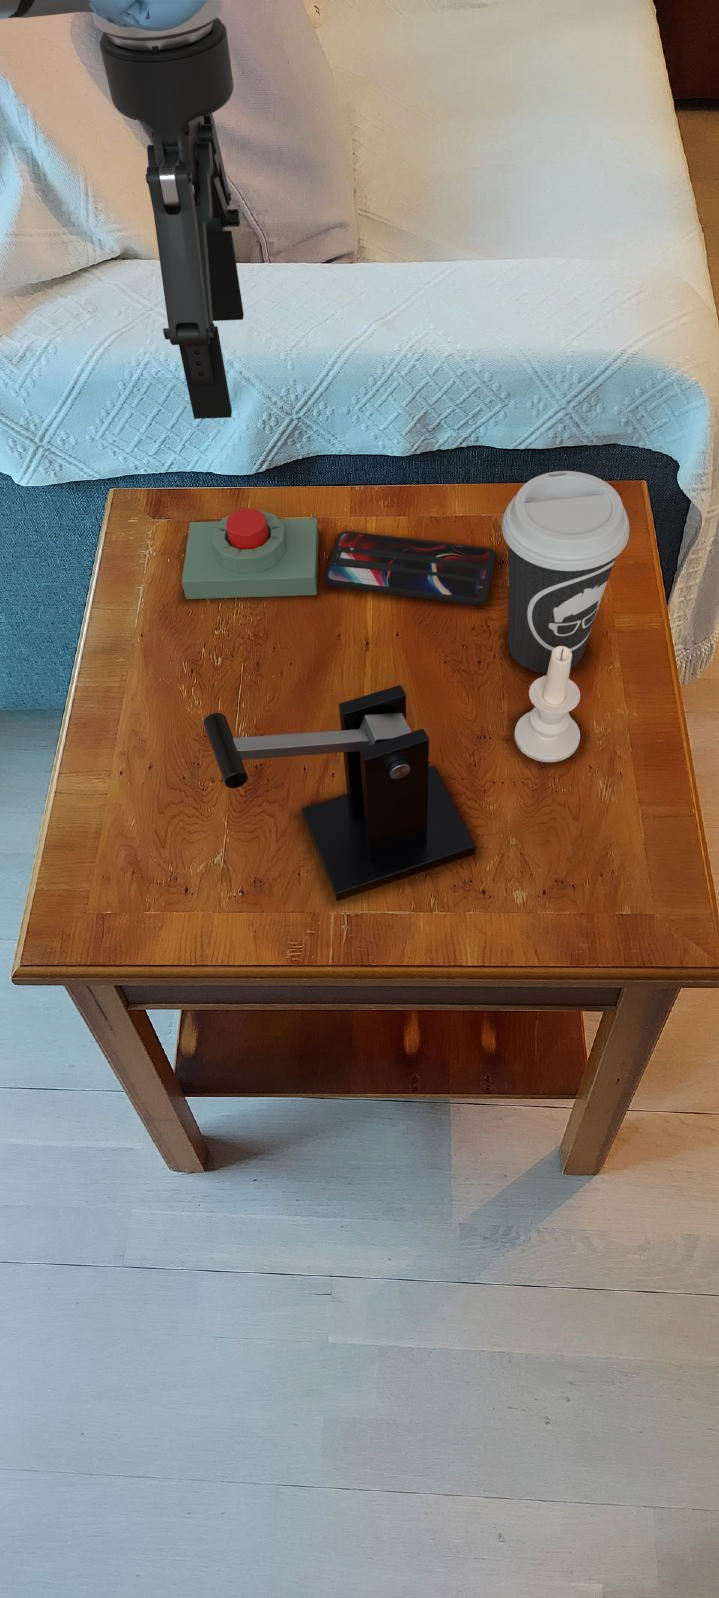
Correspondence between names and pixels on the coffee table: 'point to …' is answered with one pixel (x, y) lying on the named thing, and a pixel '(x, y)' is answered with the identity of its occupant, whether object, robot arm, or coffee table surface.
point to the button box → (252, 561)
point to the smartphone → (411, 567)
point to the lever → (294, 742)
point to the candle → (551, 713)
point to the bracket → (385, 809)
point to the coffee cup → (559, 562)
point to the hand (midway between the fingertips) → (220, 364)
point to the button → (247, 529)
